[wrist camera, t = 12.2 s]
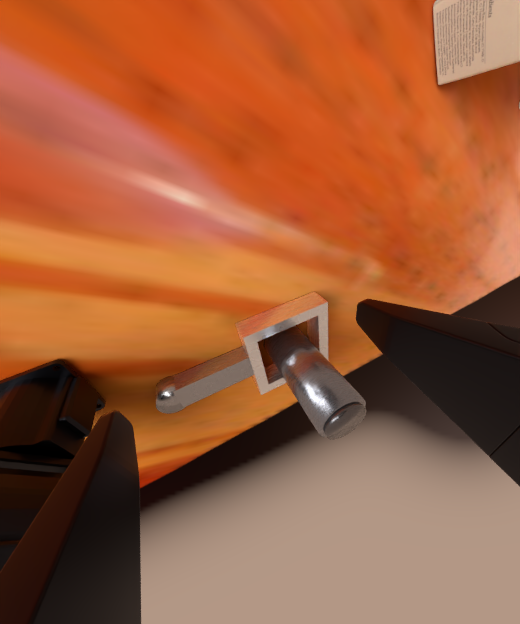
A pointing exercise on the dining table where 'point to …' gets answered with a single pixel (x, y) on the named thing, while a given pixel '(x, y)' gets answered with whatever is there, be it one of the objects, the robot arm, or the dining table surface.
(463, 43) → the box
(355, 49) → the dining table surface
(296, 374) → the dark grey metal cylinder
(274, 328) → the square frame with handle
